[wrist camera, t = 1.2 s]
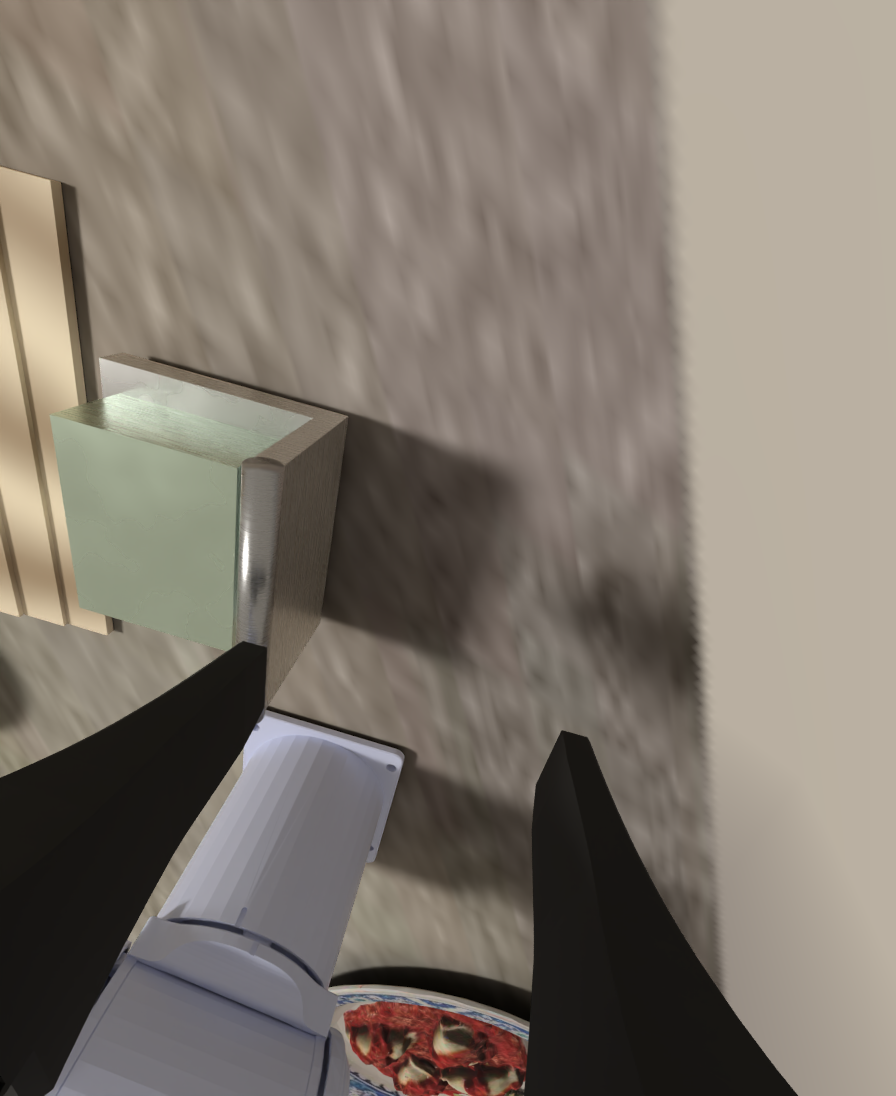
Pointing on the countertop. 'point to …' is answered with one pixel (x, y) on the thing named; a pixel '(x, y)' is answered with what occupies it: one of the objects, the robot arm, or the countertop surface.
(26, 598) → the dock
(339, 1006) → the ceramic plate
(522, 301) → the countertop surface
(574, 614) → the countertop surface
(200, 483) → the green and grey box
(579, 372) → the countertop surface
